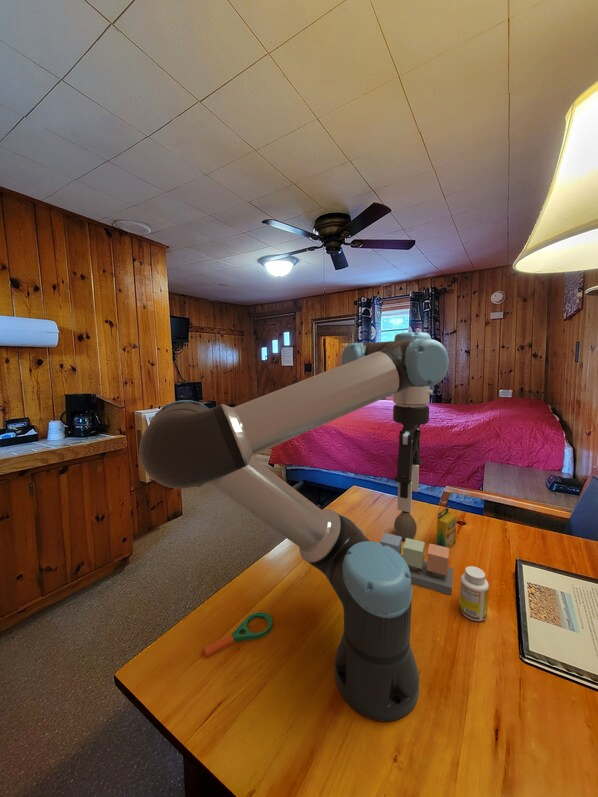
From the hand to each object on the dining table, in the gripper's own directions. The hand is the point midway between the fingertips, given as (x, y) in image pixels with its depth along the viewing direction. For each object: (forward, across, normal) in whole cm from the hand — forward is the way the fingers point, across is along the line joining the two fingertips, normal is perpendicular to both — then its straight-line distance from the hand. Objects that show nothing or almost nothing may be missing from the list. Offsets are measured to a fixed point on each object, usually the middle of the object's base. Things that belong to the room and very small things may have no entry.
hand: (408, 499), depth 74 cm
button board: (+26, +11, 0) cm, 28 cm away
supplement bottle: (+26, +3, -14) cm, 30 cm away
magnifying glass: (+27, -25, +30) cm, 47 cm away
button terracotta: (+22, +11, -6) cm, 25 cm away
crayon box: (+26, +28, -7) cm, 39 cm away
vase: (+26, +28, +5) cm, 39 cm away
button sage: (+22, +11, 0) cm, 25 cm away
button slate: (+22, +11, +6) cm, 25 cm away
